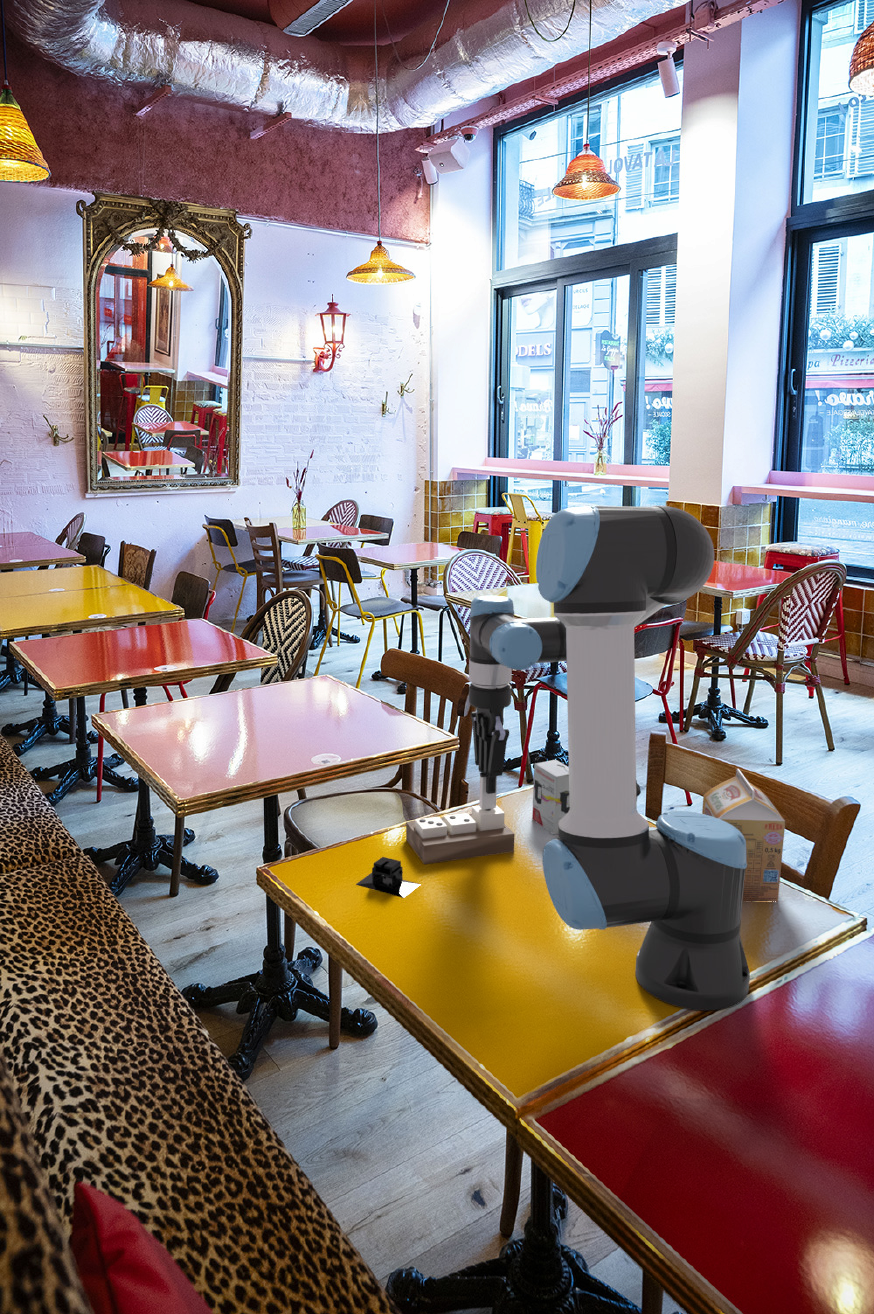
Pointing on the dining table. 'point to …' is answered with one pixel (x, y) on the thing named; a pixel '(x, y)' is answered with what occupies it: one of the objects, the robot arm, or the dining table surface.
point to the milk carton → (751, 833)
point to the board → (460, 844)
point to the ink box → (550, 794)
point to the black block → (388, 878)
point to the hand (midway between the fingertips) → (487, 807)
